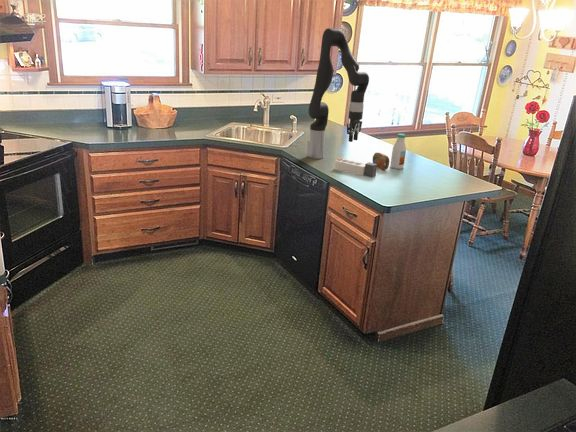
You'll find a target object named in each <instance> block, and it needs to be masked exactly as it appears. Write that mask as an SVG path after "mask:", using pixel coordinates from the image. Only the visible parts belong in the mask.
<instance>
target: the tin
mask: <svg viewBox="0 0 576 432" xmlns="http://www.w3.org/2000/svg"><path fill="white" fill-rule="evenodd" d="M372 163H375V164H377V169H378V170H382V171H384V170H385V171H386V170H388V168H389V166H390V158H389V156H388V155H386V154H384V153H382V152H375V153H374V154H373V155H372Z"/></svg>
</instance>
